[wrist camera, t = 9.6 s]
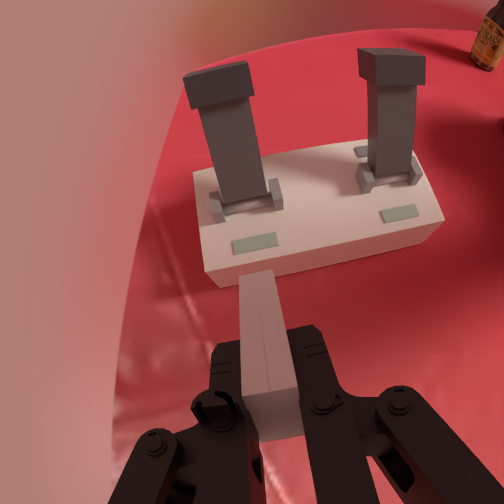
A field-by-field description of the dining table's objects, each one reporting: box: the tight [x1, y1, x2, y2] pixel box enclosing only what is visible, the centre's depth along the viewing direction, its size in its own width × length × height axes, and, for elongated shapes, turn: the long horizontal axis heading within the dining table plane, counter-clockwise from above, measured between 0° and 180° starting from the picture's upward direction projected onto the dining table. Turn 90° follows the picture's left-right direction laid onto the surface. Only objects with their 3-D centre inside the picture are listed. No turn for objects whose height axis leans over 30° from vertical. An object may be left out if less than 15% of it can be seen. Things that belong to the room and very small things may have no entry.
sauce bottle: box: [470, 0, 504, 71], centre depth 30 cm, size 6×6×20 cm
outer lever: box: [183, 61, 268, 204], centre depth 22 cm, size 3×4×11 cm
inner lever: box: [357, 48, 426, 176], centre depth 21 cm, size 3×4×11 cm
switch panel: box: [193, 139, 445, 288], centre depth 28 cm, size 10×22×8 cm, turn 100°
